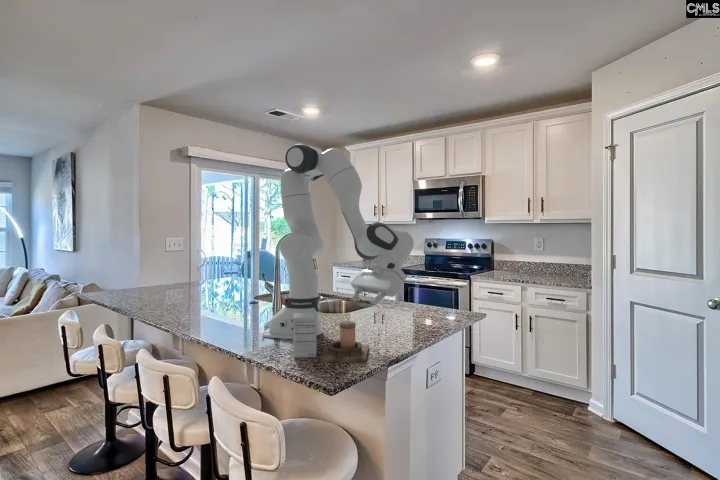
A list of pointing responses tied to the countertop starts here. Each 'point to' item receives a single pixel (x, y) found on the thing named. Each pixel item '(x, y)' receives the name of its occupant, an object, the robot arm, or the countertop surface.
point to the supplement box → (304, 335)
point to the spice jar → (347, 335)
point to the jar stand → (344, 353)
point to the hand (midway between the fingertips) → (363, 301)
